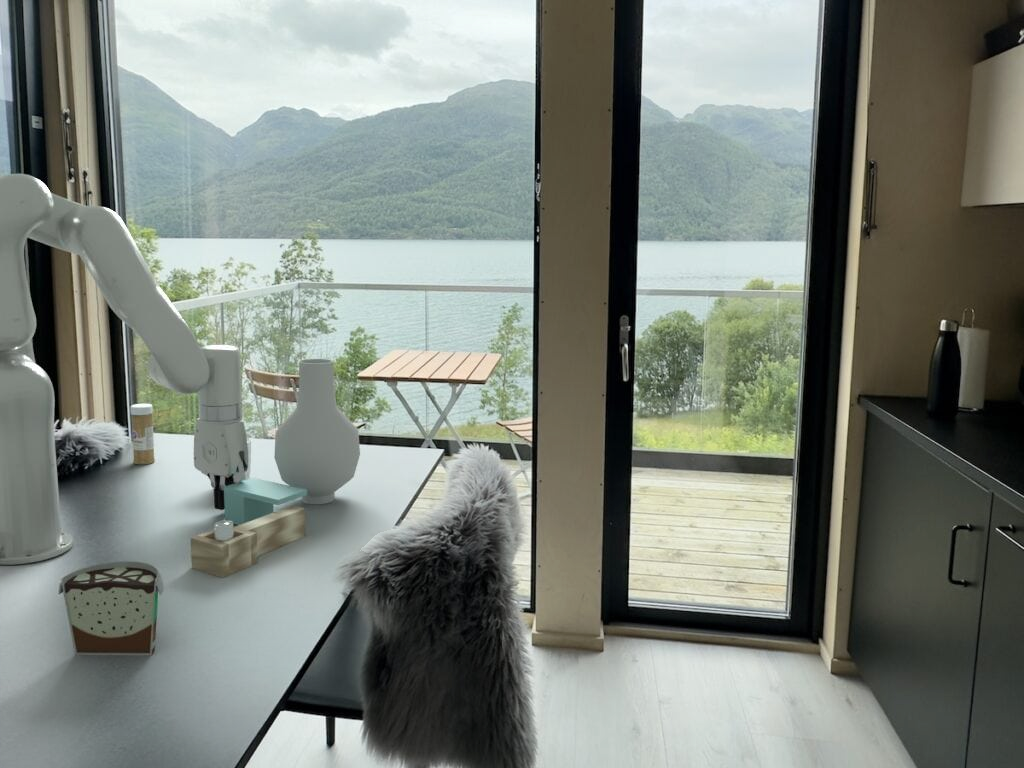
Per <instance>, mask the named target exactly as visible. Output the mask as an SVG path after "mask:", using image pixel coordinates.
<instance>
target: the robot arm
mask: <svg viewBox="0 0 1024 768" xmlns="http://www.w3.org/2000/svg"><path fill="white" fill-rule="evenodd" d="M27 239H31V240H33V241H36V242H39V243H42V244H44V245H46V246H49V247H53V248H54V249H55V248H56V249H58V250H61V251H65V252H66V253H67V252H68V253H71V254H74V255H78V256H79V257H80V258H81V260H82V262H83V264H84V265H85V268H86V269H87V270H88V272H89V273H90V275H91V277H92V278H93V280H94V282H95V284H96V285H97V287H98V289H99V290H100V292H101V294H102V296H103V297H104V299H105V302H106V303H107V305H108V306H109V308H110V309H111V311H113V313H114V314H115V315H116V316H117V317H118V318H119V319H120V320H121V321H122V322H123V323H125V325H127V326H128V327H129V328H130V329H132V330H133V332H134V333H135V334H136V335H137V336H138V337H139V338H140V340H141V341H142V342H143V344H144V345H145V346H146V348H147V349H148V351H149V353H150V355H149V357H148V359H147V363H146V368H147V369H146V370H147V373H148V375H149V377H150V378H151V379H152V380H153V381H154V382H155V384H157V385H159V386H162V387H164V388H165V389H167V390H171V391H173V393H174V392H175V393H177V394H180V395H193V394H196V393H197V398H198V402H197V403H198V418H196V421H195V422H196V423H195V427H194V434H193V435H194V436H193V437H194V438H193V466H194V468H195V469H196V470H197V471H199V472H201V474H203V475H205V476H206V477H208V479H209V480H210V486H211V488H213V502H214V503H213V504H214V505H213V506H214V509H216V510H219V511H223V510H224V511H225V505H224V487H225V486H228V485H231V484H235V483H236V482H240V481H244V480H245V479H246V477H245V471H247V469H248V445H247V438H248V437H247V432H246V431H247V430H246V427H245V423H244V419H243V408H242V407H243V403H242V402H243V401H242V373H241V372H242V371H241V354H240V350H239V349H238V348H237V347H236V346H233V345H229V344H214V345H213V344H210V345H204V346H200V344H199V342H198V340H197V339H196V338H195V337H196V336H194V333H193V331H192V330H191V328H190V327H189V326H188V324H187V322H186V321H185V320H184V318H183V317H182V316H181V314H180V313H179V311H178V310H177V309H176V307H175V305H173V303H172V302H171V299H169V297H168V295H167V294H166V293H165V292H164V290H163V289H162V288H161V286H160V285H159V283H158V281H157V280H156V278H155V276H154V274H153V273H152V270H151V269H150V267H149V265H148V263H147V262H146V260H145V258H144V256H143V255H142V254H143V253H141V250H140V248H139V247H138V246H137V244H136V242H135V239H134V238H133V236H132V234H131V232H130V231H129V229H128V227H127V226H126V224H125V222H124V221H123V219H122V218H121V217H120V215H118V213H116V212H115V211H113V210H112V209H110V208H108V207H105V206H100V205H84V204H81V203H79V202H76V201H74V200H70V199H68V198H66V197H62V196H61V195H58V194H55V193H52V192H51V191H50V190H49V188H48V187H47V185H46V184H45V183H44V182H43V181H41V179H38V178H36V177H35V176H32V175H31V174H26V173H9V174H6V175H3V176H1V177H0V565H5V566H7V565H24V564H25V565H26V564H32V563H36V562H42V561H46V560H49V559H53V558H55V557H58V556H61V555H62V554H64V553H66V552H68V551H69V550H70V549H71V548H72V547H73V544H74V538H73V536H72V535H71V534H70V533H67V532H64V531H62V521H61V510H60V509H61V508H60V496H59V495H60V494H59V482H58V481H59V480H58V469H57V467H58V466H57V454H56V442H55V440H56V438H55V406H56V405H55V402H56V399H55V390H54V386H53V382H52V381H51V378H50V376H49V375H48V373H47V372H46V370H44V369H43V368H42V367H41V366H40V365H38V364H37V363H36V358H35V353H34V348H33V342H32V338H33V337H34V335H35V333H36V329H37V317H36V313H35V310H34V306H33V302H32V297H31V292H30V285H29V283H28V278H27V271H26V262H25V244H26V241H27ZM227 477H228V478H227Z"/></svg>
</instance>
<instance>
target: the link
mask: <svg viewBox="0 0 1024 768" xmlns="http://www.w3.org/2000/svg"><path fill="white" fill-rule="evenodd" d="M233 530H234V538H232V539H230V540H227V541H225V542H220V541H216V540H215V528H213V529H210V530H207V531H205V532H201V533H199V534H196V535H194V536H191V537H189V538H190V543H189V544H190V558H191V559H190V560H191V561H190V562H191V569H192V570H193V569H194V570H197V571H200V572H202V573H207V574H210V575H213V576H215V577H220V578H222V579H223V578H225V577H226V578H227V576H231V575H233V574H235V573H238V572H239V571H242V570H244V569H246V568H249V567H251V566H253V565H255V564H258V556H259V557H260V556H262V555H264V554H266V553H268V552H271V551H274V550H275V549H278V548H280V547H283V546H285V545H288V544H290V543H292V542H294V541H297V540H299V539H302V538H304V537H306V507H305V508H303V507H301V506H296V505H291V506H288V507H285V508H282V509H280V510H277V511H274V513H271V514H268V515H266V516H263V517H260V518H257V519H255V520H252V521H249V522H247V523H244V524H241V525H236V526H233Z"/></svg>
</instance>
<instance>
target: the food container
mask: <svg viewBox="0 0 1024 768" xmlns="http://www.w3.org/2000/svg"><path fill="white" fill-rule="evenodd" d="M164 591H165V584H164V580H163V578H162V574H161V573H160V572H159V569H158V567H156V566H154V565H152V564H150V563H147V562H142V561H133V560H131V561H130V560H128V561H127V560H125V561H124V560H123V561H122V560H121V561H109V562H104V563H99V564H98V563H97V564H93V565H89V566H85V567H83V568H79V569H77V570H74V571H72V572H70V573H68V574H66V575H64V576H63V577H62V578H61V582H60V583H59V587H58V593H57V595H62V593H63V598H64V604H65V608H66V612H67V613H66V614H67V620H68V624H69V630H70V634H71V640H72V646H73V651H74V655H75V656H153V654H154V652H156V650H155V649H156V635H157V619H158V603H159V596H162V594H163V593H164Z"/></svg>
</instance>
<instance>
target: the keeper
mask: <svg viewBox="0 0 1024 768" xmlns="http://www.w3.org/2000/svg"><path fill="white" fill-rule="evenodd" d="M306 495H307V490H306V489H301V488H297V487H293V486H289V485H288V484H283V483H279V482H275V481H270V480H266V479H262V478H258V477H250V479H247V480H244V481H241V482H238V483H235V484H231V485H228V486H225V487H224V505H225V509H224V520H230V521H233V525H234V524H235V525H237V526H239V525H241V524H244V523H247V522H249V521H252V520H255V519H257V518H260V517H263V516H266V515H268V514H271V513H274V512H275V511H274V505H276V506H280V505H283V504H286V503H290V502H291V501H295V500H298V499H301V498H302V497H303V496H306Z"/></svg>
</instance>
